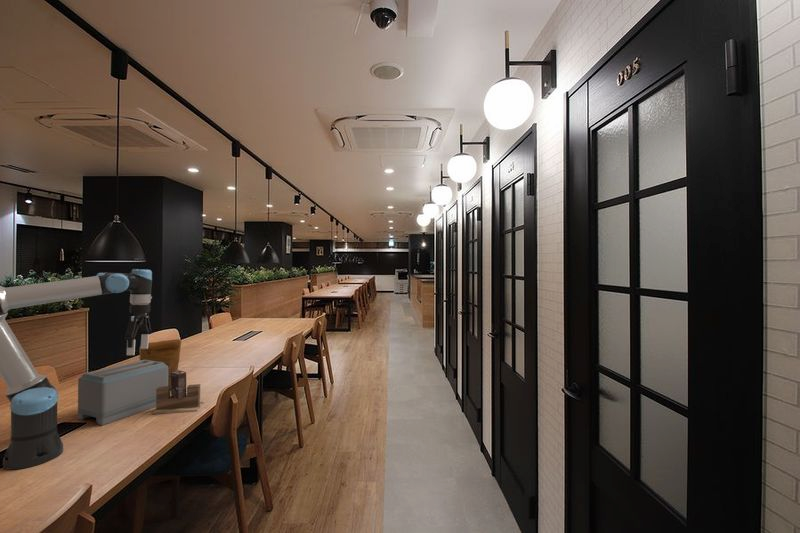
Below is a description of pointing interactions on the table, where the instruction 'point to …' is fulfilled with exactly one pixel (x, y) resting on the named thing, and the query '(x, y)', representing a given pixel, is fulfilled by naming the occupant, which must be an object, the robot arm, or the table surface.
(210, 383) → the table surface
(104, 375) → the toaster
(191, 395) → the wooden u-shaped block
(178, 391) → the box
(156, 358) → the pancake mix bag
